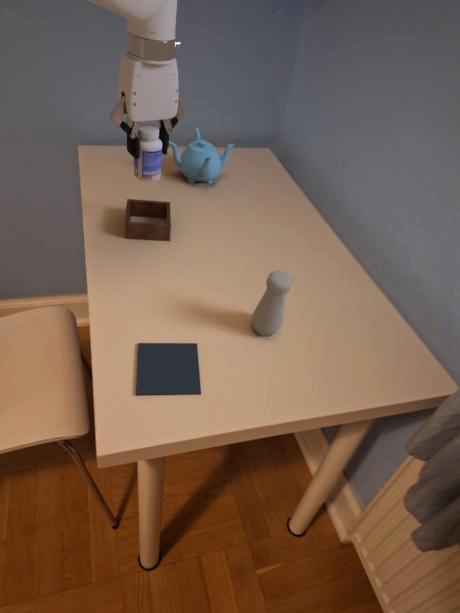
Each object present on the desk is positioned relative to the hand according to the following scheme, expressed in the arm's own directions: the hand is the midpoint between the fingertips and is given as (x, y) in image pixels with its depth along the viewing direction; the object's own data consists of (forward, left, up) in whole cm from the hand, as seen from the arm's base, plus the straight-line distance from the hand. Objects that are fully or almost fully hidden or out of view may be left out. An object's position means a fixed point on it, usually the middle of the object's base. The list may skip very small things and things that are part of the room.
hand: (148, 152), depth 79 cm
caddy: (0, +1, -18) cm, 18 cm away
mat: (+4, -38, -18) cm, 42 cm away
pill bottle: (0, 0, -5) cm, 5 cm away
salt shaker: (+22, -29, -18) cm, 41 cm away
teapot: (+13, +26, -18) cm, 34 cm away
